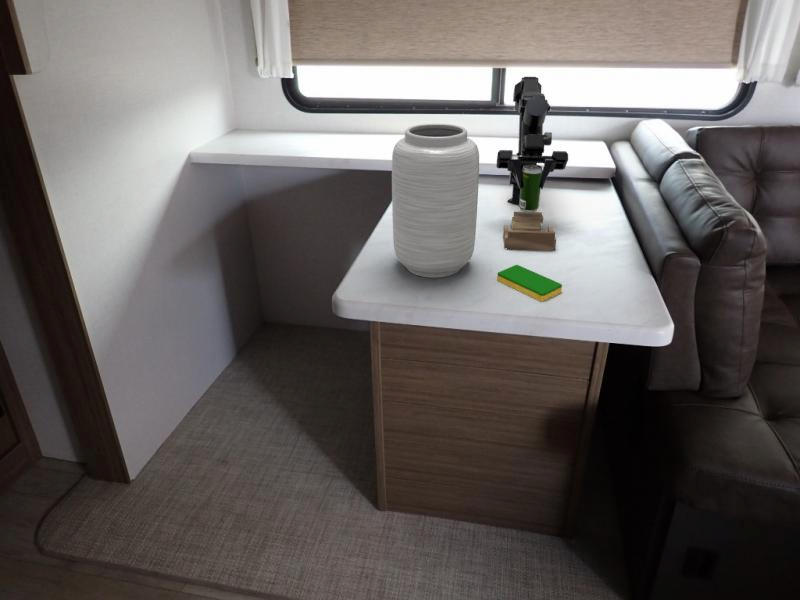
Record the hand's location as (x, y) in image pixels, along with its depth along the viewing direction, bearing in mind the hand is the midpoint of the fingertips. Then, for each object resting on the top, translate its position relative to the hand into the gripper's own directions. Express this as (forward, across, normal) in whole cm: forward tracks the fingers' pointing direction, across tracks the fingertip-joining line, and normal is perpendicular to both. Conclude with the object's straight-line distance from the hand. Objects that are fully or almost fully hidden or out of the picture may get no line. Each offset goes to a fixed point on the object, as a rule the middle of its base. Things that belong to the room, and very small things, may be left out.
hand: (531, 188), depth 155 cm
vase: (+26, -25, -7) cm, 36 cm away
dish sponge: (+32, -2, -13) cm, 35 cm away
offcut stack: (+8, 0, +11) cm, 14 cm away
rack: (+14, 0, +4) cm, 15 cm away
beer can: (+4, 0, +6) cm, 7 cm away
